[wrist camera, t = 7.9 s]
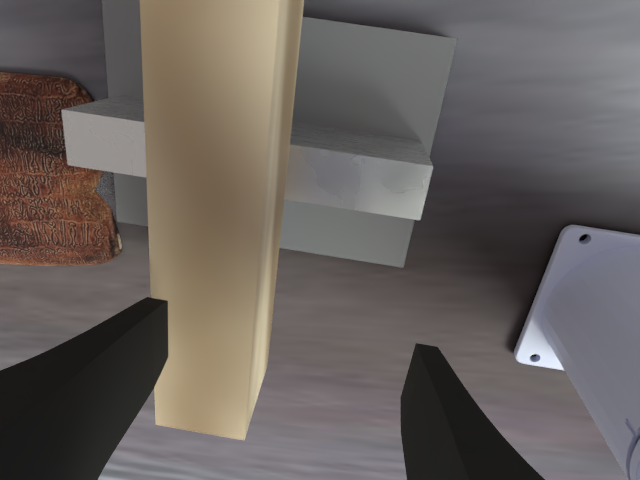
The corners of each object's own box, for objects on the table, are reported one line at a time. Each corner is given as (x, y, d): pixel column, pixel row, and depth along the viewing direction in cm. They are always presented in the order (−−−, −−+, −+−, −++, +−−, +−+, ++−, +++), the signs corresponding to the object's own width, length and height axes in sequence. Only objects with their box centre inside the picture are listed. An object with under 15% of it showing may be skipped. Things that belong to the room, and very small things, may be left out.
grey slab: (451, 38, 18) (457, 38, 17) (401, 253, 23) (403, 267, 21) (119, -9, 19) (100, -13, 18) (131, 210, 23) (116, 221, 22)
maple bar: (312, -78, 13) (289, -123, 9) (267, 364, 19) (244, 440, 16) (201, -93, 13) (134, -143, 9) (195, 352, 20) (155, 424, 16)
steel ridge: (420, 140, 19) (433, 166, 15) (411, 186, 20) (420, 220, 16) (119, 95, 19) (61, 109, 16) (122, 141, 20) (67, 165, 16)
